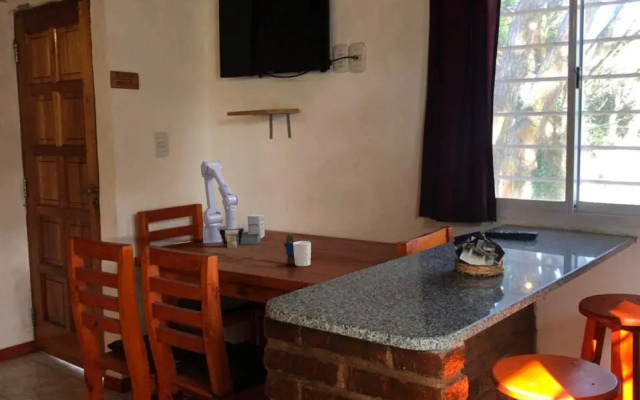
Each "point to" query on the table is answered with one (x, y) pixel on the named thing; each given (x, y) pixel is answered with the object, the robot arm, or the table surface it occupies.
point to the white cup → (302, 253)
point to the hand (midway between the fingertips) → (232, 244)
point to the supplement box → (256, 224)
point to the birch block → (232, 241)
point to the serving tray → (249, 239)
